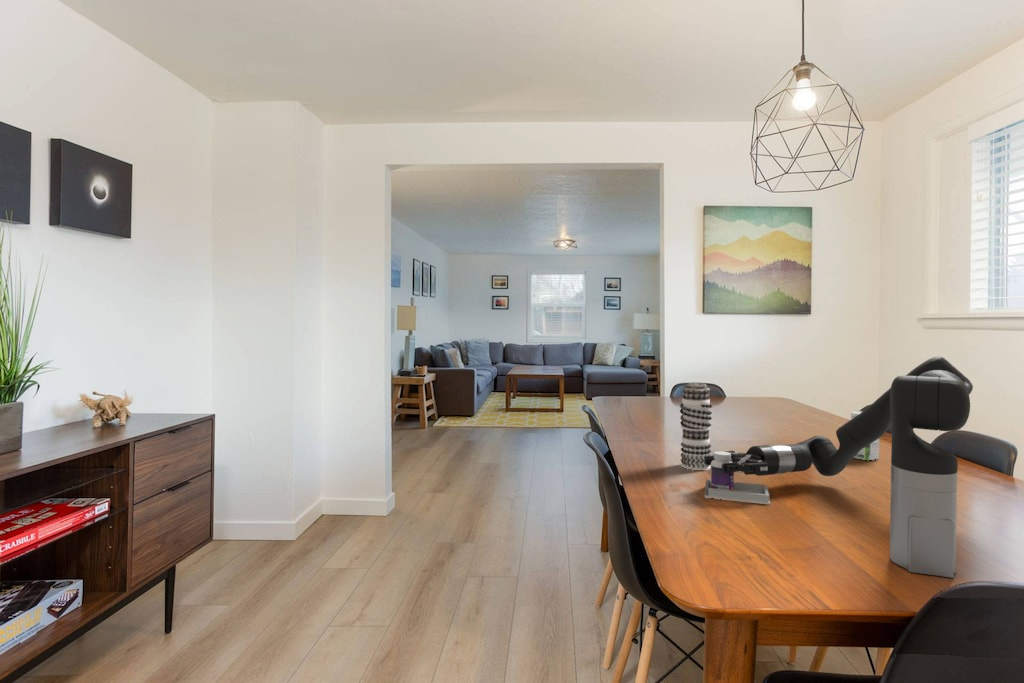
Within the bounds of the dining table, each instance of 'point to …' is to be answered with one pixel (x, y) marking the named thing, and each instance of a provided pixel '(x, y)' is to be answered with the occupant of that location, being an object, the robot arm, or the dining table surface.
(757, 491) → the white rimmed tray
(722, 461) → the pill bottle
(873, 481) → the dining table surface
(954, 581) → the dining table surface
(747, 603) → the dining table surface
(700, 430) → the decorative candle
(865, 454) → the syrup box
